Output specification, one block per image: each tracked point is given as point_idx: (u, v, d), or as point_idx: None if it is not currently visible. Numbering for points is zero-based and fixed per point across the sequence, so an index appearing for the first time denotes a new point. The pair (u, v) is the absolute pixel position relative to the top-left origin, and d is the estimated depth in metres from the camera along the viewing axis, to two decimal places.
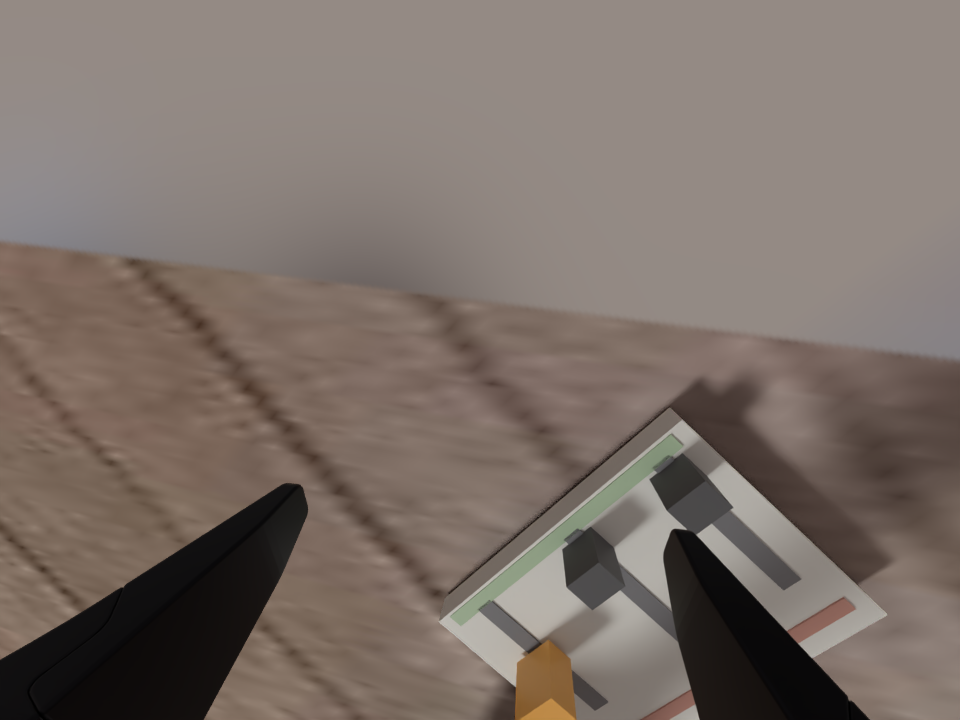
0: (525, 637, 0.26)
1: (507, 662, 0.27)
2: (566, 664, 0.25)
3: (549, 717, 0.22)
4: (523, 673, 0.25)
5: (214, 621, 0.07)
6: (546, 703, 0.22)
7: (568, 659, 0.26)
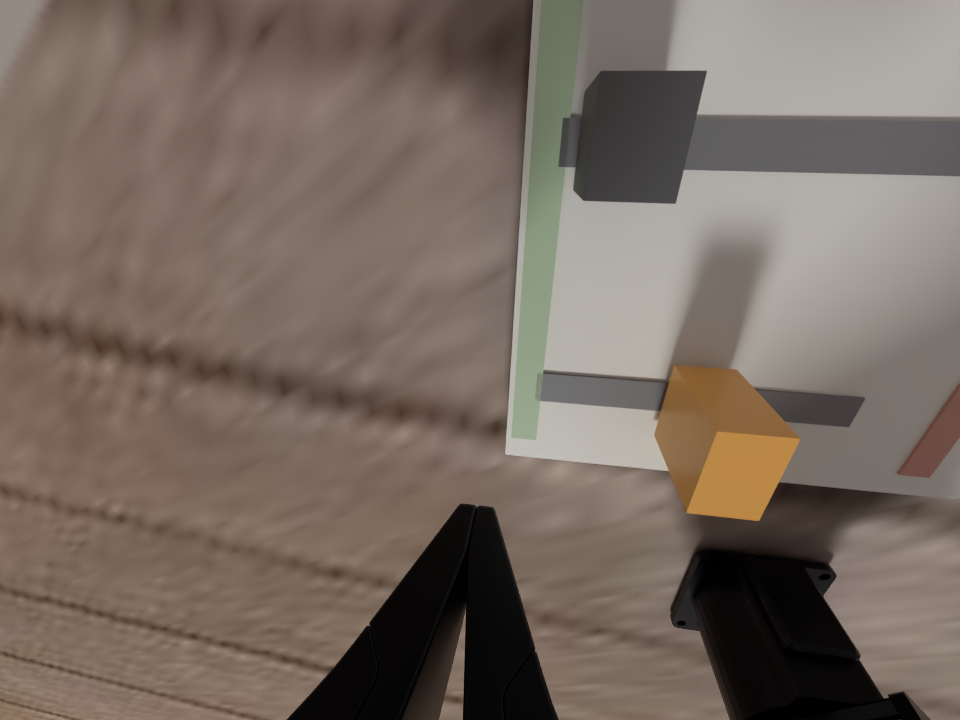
0: (639, 392, 0.14)
1: (643, 446, 0.15)
2: (731, 378, 0.12)
3: (743, 467, 0.10)
4: (666, 439, 0.13)
5: (442, 657, 0.07)
6: (717, 447, 0.10)
7: (732, 371, 0.13)
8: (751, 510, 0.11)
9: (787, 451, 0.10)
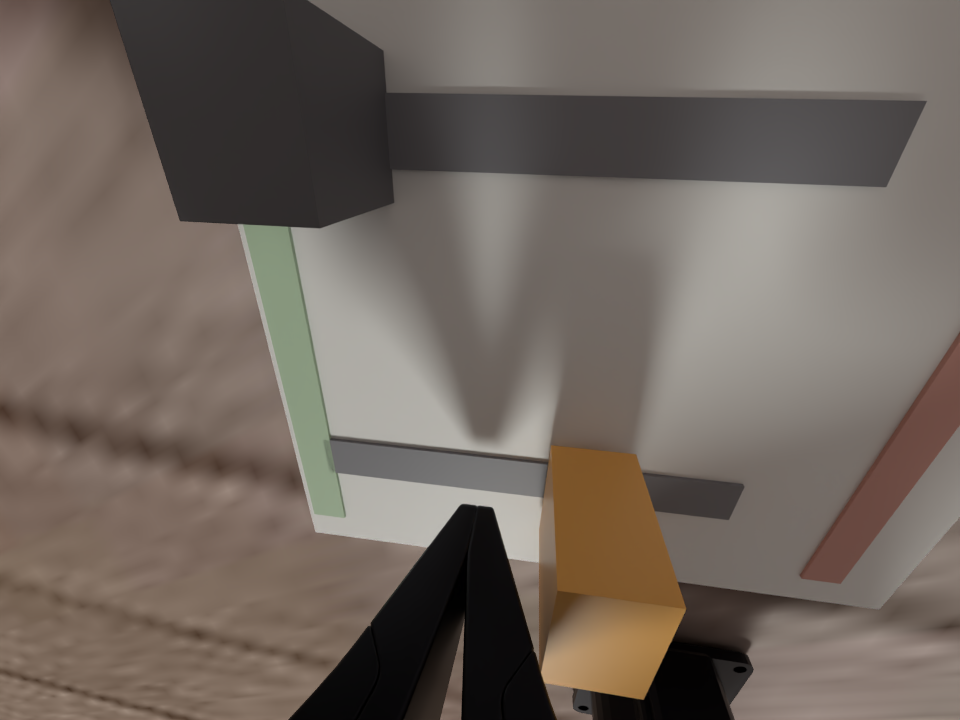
0: (456, 466, 0.11)
1: None
2: (622, 472, 0.09)
3: (606, 636, 0.07)
4: (541, 546, 0.10)
5: (443, 658, 0.07)
6: (562, 609, 0.07)
7: (628, 458, 0.09)
8: (630, 686, 0.07)
9: (669, 621, 0.06)
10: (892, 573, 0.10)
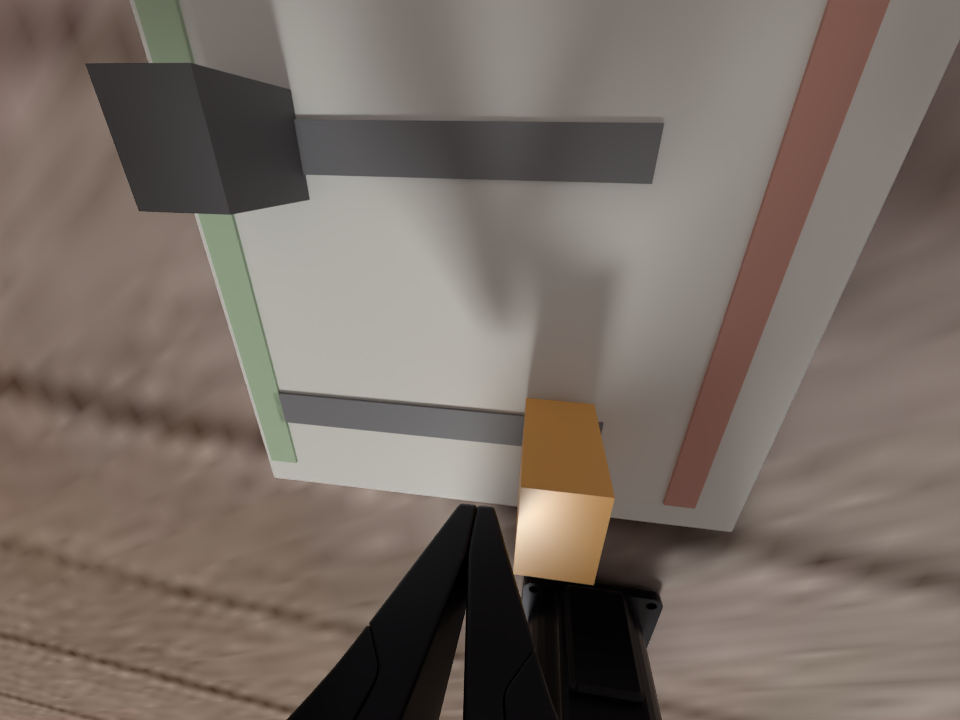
0: (380, 413, 0.13)
1: (405, 470, 0.14)
2: (581, 415, 0.11)
3: (559, 527, 0.09)
4: (519, 481, 0.12)
5: (442, 658, 0.07)
6: (525, 504, 0.09)
7: (587, 406, 0.11)
8: (582, 573, 0.10)
9: (604, 511, 0.09)
10: (734, 498, 0.13)
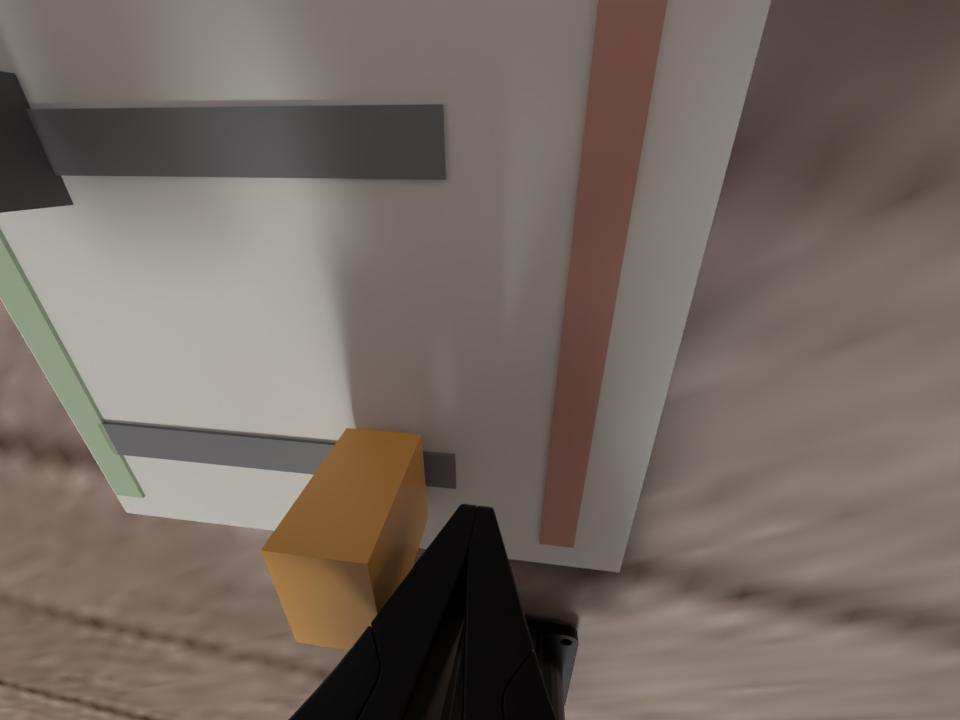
0: (217, 445, 0.12)
1: (259, 505, 0.13)
2: (396, 450, 0.09)
3: (322, 594, 0.07)
4: None
5: (443, 658, 0.07)
6: (274, 569, 0.07)
7: (411, 438, 0.10)
8: None
9: (361, 578, 0.07)
10: (614, 536, 0.11)
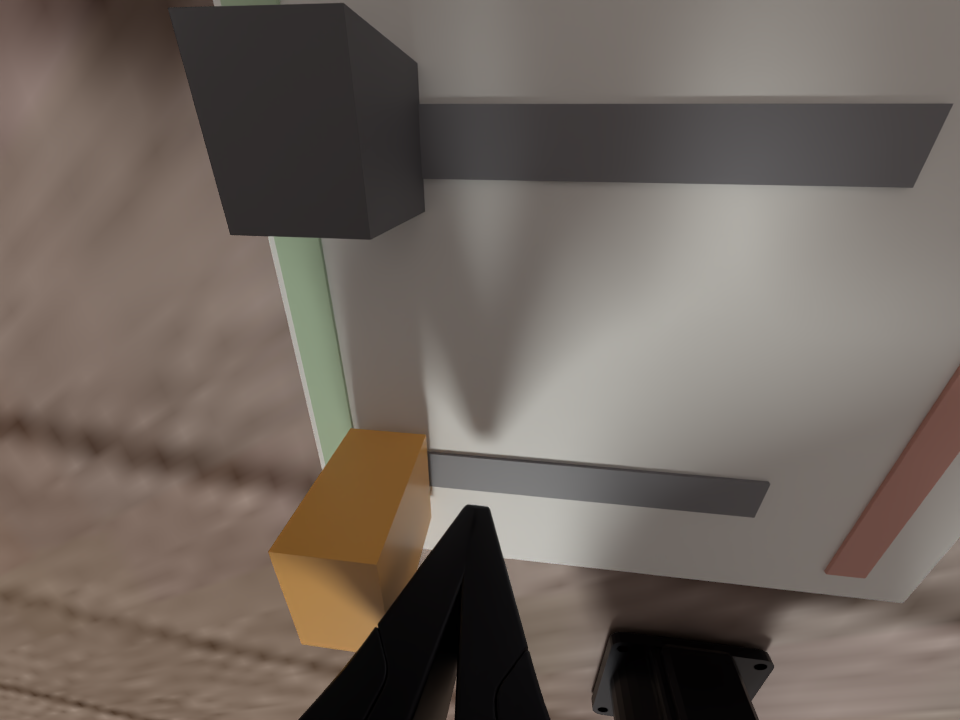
0: (482, 470, 0.11)
1: (502, 533, 0.12)
2: (402, 450, 0.09)
3: (330, 595, 0.07)
4: None
5: (449, 659, 0.07)
6: (282, 570, 0.07)
7: (416, 438, 0.10)
8: None
9: (370, 578, 0.07)
10: (916, 566, 0.11)
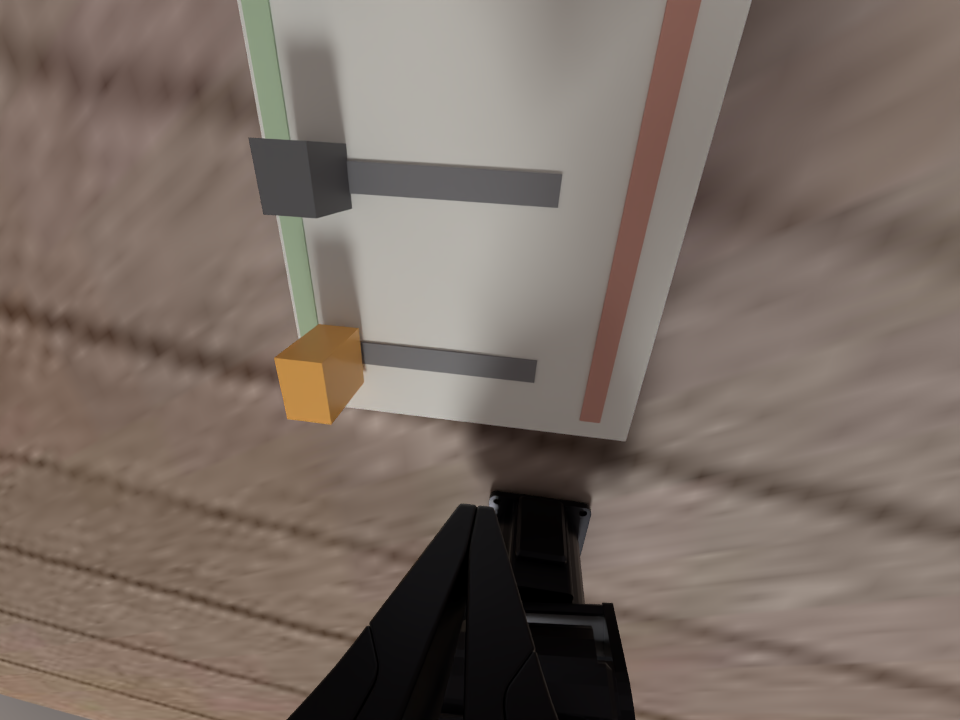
0: (389, 353, 0.19)
1: (404, 396, 0.21)
2: (344, 332, 0.18)
3: (301, 384, 0.16)
4: None
5: (442, 658, 0.07)
6: (279, 369, 0.16)
7: (353, 329, 0.18)
8: (322, 416, 0.17)
9: (319, 372, 0.16)
10: (624, 415, 0.19)
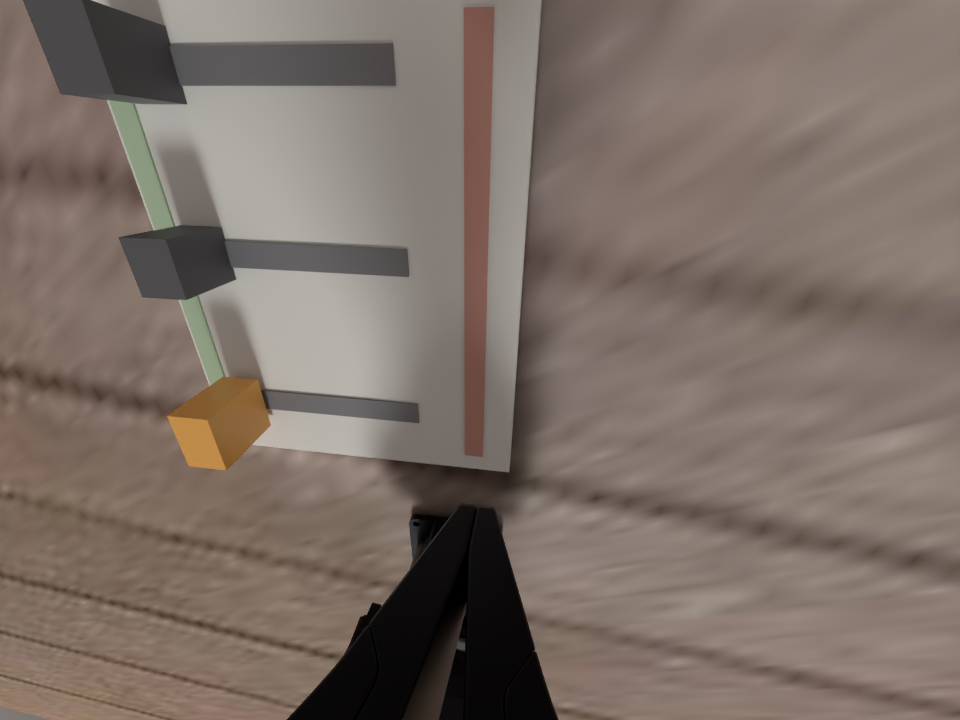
0: (290, 400, 0.22)
1: (310, 436, 0.23)
2: (242, 385, 0.20)
3: (193, 437, 0.18)
4: None
5: (442, 658, 0.07)
6: (173, 425, 0.18)
7: (251, 381, 0.21)
8: (217, 463, 0.19)
9: (206, 427, 0.18)
10: (503, 450, 0.21)
